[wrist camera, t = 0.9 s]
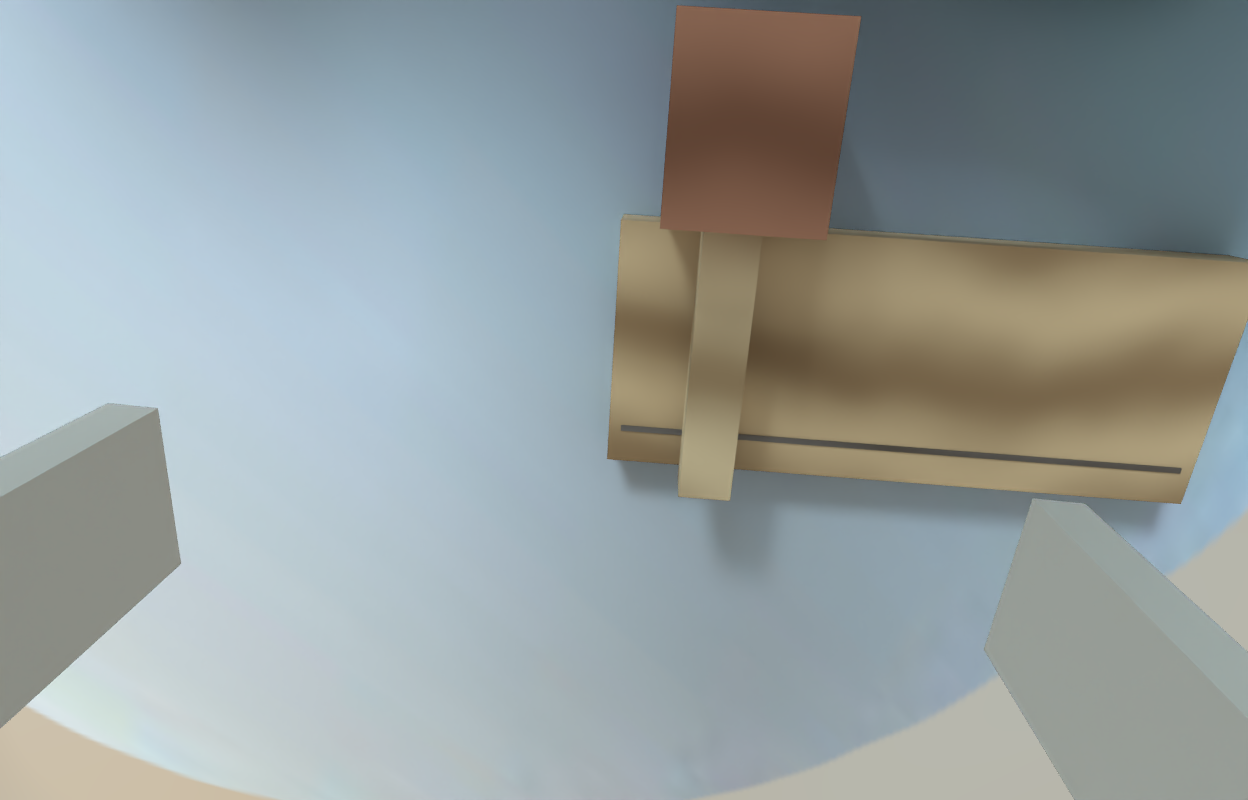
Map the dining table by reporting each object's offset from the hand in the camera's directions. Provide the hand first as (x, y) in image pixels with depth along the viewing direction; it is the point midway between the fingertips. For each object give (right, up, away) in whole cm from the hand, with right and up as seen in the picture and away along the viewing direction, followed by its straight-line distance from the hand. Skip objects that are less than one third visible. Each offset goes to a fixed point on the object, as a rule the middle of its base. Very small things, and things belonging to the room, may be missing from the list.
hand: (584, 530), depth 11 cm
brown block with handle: (+5, +8, +19) cm, 21 cm away
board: (+12, +4, +20) cm, 24 cm away
